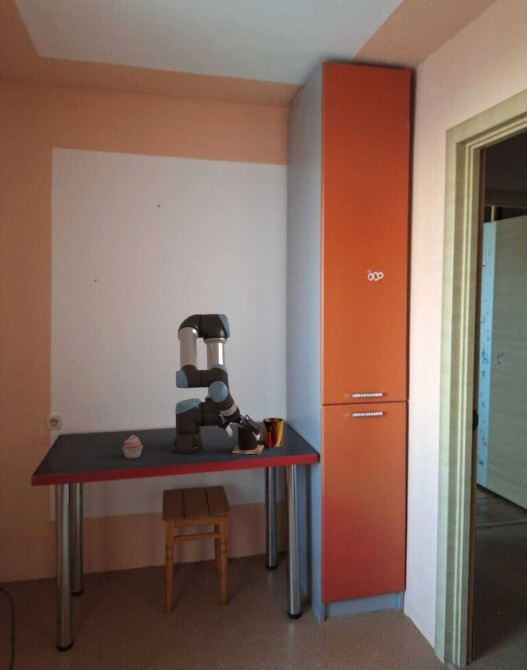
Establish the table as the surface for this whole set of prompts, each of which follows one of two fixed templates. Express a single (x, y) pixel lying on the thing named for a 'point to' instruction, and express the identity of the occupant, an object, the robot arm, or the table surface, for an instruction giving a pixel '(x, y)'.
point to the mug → (273, 432)
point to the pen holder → (246, 439)
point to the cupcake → (132, 447)
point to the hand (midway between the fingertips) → (245, 436)
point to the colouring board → (255, 451)
